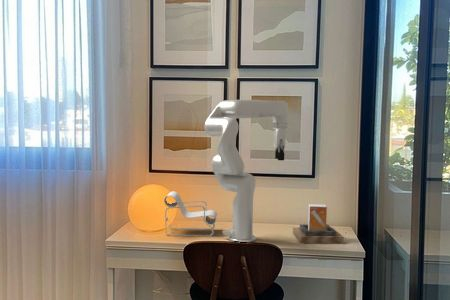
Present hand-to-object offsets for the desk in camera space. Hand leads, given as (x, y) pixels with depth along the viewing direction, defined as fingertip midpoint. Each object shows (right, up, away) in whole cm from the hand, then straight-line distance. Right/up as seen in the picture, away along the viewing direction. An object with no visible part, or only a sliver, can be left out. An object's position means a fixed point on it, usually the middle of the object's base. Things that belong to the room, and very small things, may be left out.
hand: (279, 159), depth 226 cm
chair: (-45, -37, -6) cm, 58 cm away
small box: (+16, -35, -16) cm, 41 cm away
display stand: (+16, -37, -16) cm, 44 cm away
